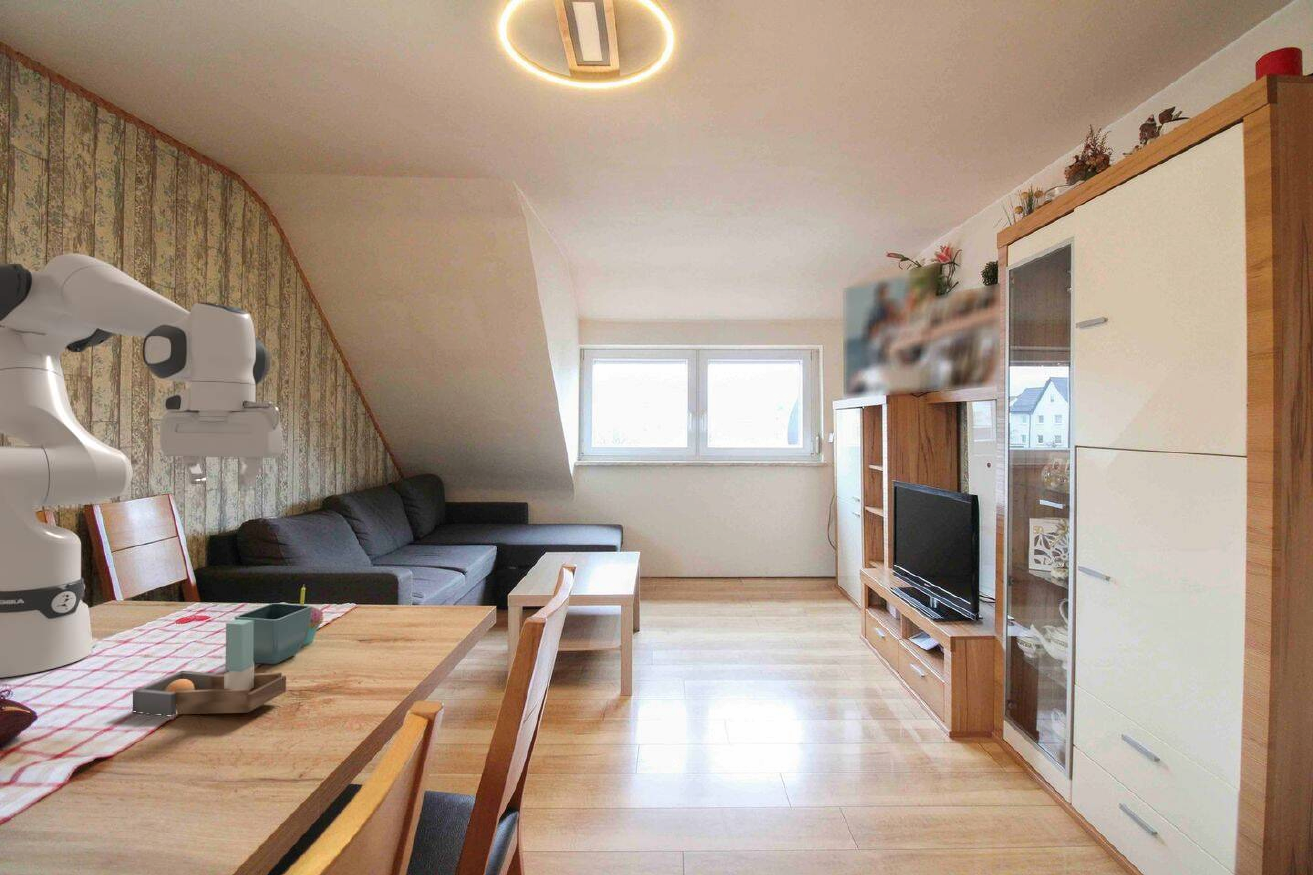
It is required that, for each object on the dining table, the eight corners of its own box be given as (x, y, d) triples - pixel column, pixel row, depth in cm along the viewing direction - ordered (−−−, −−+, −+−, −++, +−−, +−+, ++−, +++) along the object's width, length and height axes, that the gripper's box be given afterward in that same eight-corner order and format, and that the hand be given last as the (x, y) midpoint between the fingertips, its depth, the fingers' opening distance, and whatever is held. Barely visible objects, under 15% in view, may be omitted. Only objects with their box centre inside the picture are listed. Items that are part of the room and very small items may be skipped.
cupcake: (331, 641, 116) (332, 581, 116) (285, 653, 109) (285, 590, 109) (310, 632, 121) (311, 575, 121) (265, 644, 114) (265, 583, 114)
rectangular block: (218, 698, 85) (218, 625, 85) (243, 686, 90) (244, 616, 90) (234, 700, 85) (235, 627, 85) (259, 687, 89) (260, 617, 89)
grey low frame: (132, 712, 86) (132, 691, 86) (182, 690, 93) (182, 670, 93) (170, 716, 85) (170, 694, 85) (217, 693, 92) (217, 673, 92)
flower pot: (275, 670, 102) (276, 619, 102) (232, 666, 103) (232, 616, 103) (313, 652, 110) (313, 605, 110) (272, 648, 112) (273, 602, 112)
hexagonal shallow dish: (175, 713, 85) (175, 683, 85) (214, 694, 92) (214, 666, 92) (250, 721, 83) (251, 690, 83) (285, 701, 90) (286, 672, 90)
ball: (174, 712, 87) (155, 703, 88) (196, 701, 91) (178, 692, 91) (180, 690, 87) (161, 681, 87) (203, 680, 90) (184, 671, 91)
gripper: (293, 402, 97) (292, 484, 97) (188, 402, 100) (188, 481, 101) (262, 400, 91) (261, 487, 91) (151, 400, 94) (151, 484, 94)
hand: (222, 484), depth 96 cm, fingers open, 8 cm apart
